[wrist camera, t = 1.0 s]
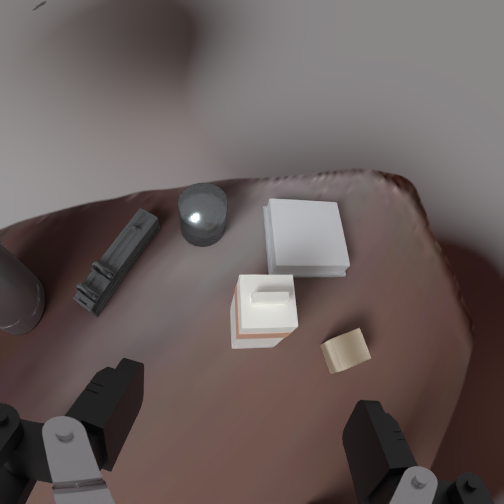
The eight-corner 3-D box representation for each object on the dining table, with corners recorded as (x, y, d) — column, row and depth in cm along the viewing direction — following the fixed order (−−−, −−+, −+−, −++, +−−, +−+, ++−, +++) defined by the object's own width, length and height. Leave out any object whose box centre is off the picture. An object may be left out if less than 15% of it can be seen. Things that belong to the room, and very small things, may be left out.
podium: (268, 277, 41) (273, 268, 39) (262, 208, 46) (266, 196, 43) (344, 276, 43) (353, 268, 40) (331, 211, 48) (338, 200, 45)
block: (330, 373, 37) (343, 370, 33) (319, 344, 38) (331, 338, 35) (356, 362, 38) (371, 357, 34) (346, 334, 39) (359, 327, 36)
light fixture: (161, 230, 43) (157, 208, 38) (97, 318, 36) (83, 305, 31) (143, 220, 43) (137, 197, 38) (79, 304, 36) (64, 290, 31)
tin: (179, 246, 41) (176, 222, 36) (182, 208, 44) (180, 182, 39) (224, 247, 42) (228, 223, 37) (224, 209, 45) (227, 183, 40)
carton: (231, 348, 36) (243, 325, 26) (229, 308, 39) (240, 268, 28) (273, 347, 37) (302, 323, 26) (270, 307, 39) (296, 269, 29)
